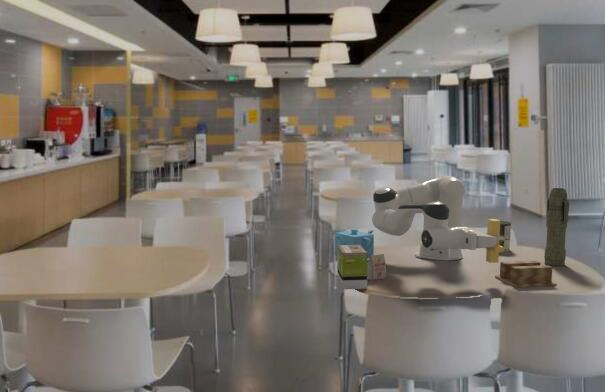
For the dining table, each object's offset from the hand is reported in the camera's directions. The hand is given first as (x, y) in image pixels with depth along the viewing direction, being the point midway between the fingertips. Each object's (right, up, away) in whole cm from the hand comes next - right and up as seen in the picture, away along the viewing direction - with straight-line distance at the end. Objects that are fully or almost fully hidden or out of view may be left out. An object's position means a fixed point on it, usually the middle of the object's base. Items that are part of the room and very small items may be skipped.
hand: (495, 237), depth 243 cm
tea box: (-58, -19, -2) cm, 61 cm away
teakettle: (-54, -14, +43) cm, 70 cm away
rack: (+14, -18, +5) cm, 23 cm away
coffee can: (+24, -11, +70) cm, 74 cm away
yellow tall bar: (-1, -10, +1) cm, 10 cm away
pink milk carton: (-47, -18, +8) cm, 51 cm away
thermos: (+39, -15, +36) cm, 55 cm away
